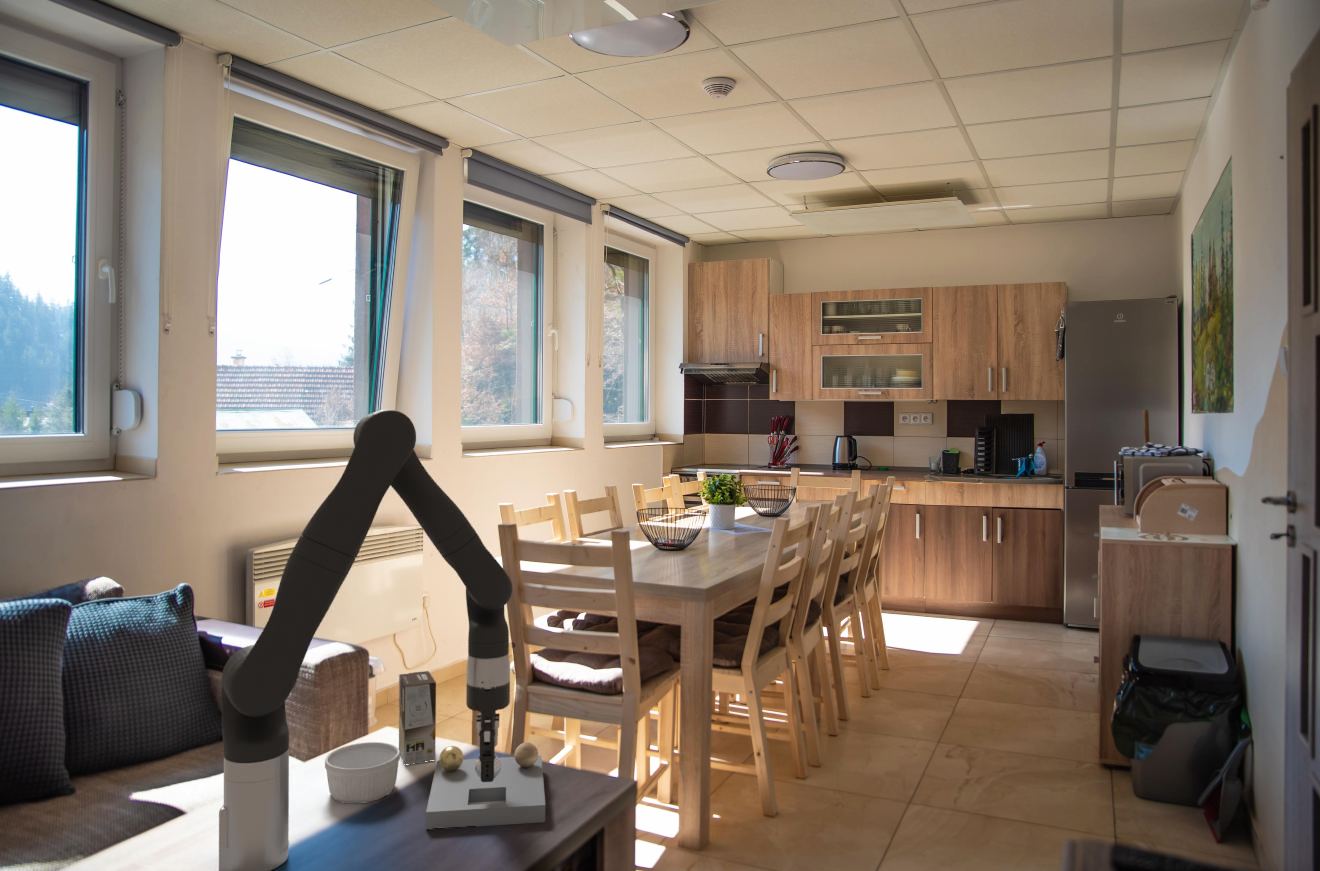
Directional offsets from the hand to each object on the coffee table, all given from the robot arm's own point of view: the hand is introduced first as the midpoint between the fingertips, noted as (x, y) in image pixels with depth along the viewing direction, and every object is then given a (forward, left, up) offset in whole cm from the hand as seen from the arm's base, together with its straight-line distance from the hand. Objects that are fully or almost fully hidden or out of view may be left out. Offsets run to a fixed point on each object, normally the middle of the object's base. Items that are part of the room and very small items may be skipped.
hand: (487, 774), depth 153 cm
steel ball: (0, 0, +1) cm, 1 cm away
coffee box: (-15, +28, -7) cm, 32 cm away
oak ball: (+7, +12, -2) cm, 14 cm away
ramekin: (-23, +12, -7) cm, 27 cm away
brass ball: (-7, +12, -2) cm, 14 cm away
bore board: (0, +6, -7) cm, 9 cm away
